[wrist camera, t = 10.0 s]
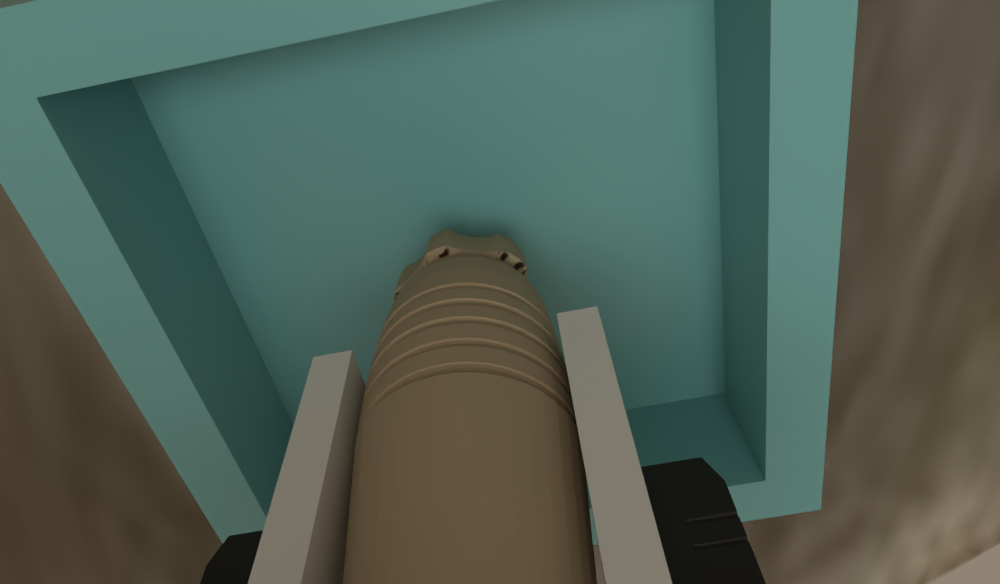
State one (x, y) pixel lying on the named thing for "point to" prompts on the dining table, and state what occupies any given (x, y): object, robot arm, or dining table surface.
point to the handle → (468, 432)
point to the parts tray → (442, 204)
